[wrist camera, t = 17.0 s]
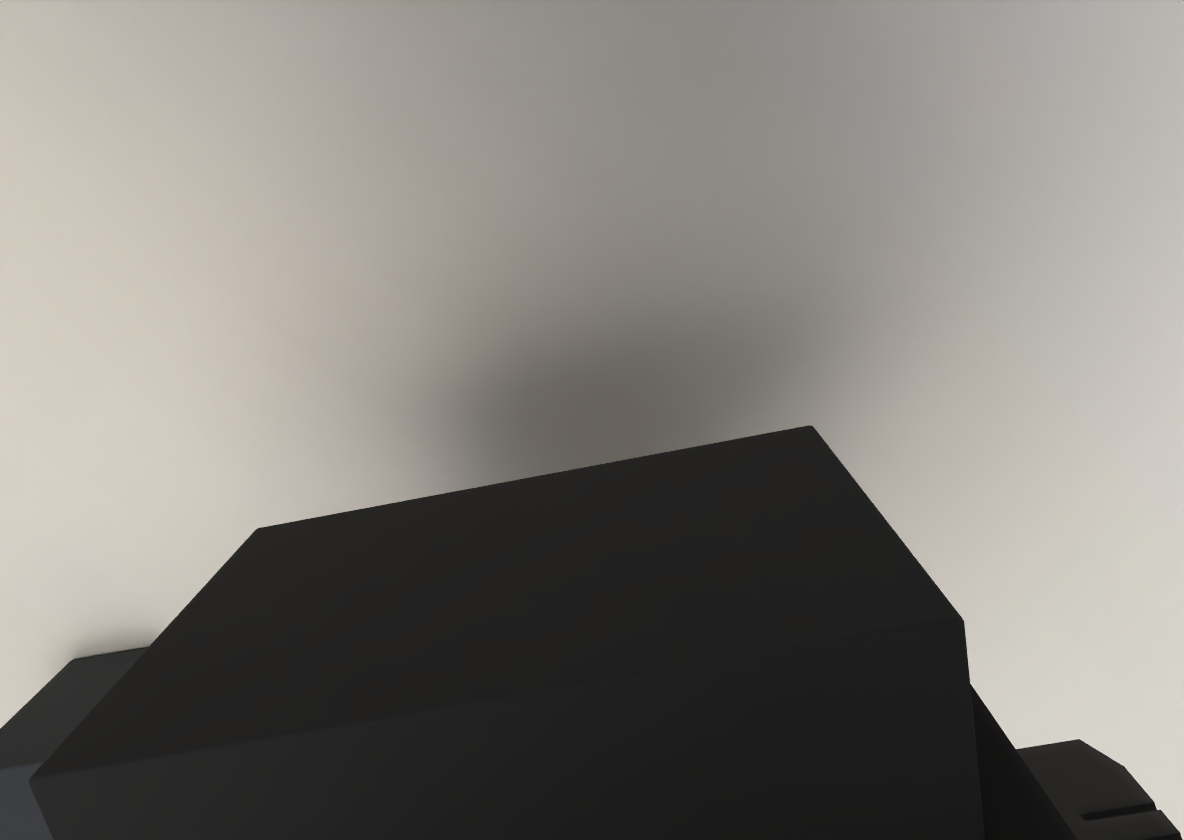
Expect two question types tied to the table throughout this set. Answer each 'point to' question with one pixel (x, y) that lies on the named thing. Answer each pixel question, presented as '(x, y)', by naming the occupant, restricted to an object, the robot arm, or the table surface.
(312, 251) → the table surface
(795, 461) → the pad
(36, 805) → the pad
